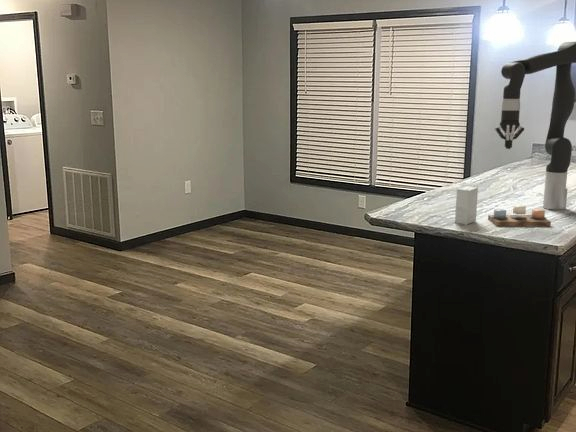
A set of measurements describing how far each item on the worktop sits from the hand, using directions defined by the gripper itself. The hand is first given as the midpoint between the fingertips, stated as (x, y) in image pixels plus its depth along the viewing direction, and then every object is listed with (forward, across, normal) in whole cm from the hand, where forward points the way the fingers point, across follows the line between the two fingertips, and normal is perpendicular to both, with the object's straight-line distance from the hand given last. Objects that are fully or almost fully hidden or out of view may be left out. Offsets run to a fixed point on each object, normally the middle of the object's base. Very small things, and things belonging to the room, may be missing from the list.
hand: (508, 148), depth 291 cm
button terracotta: (+27, -8, +21) cm, 35 cm away
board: (+29, 0, +21) cm, 36 cm away
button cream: (+25, 0, +21) cm, 32 cm away
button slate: (+27, +8, +21) cm, 35 cm away
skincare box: (+29, +22, +20) cm, 42 cm away
